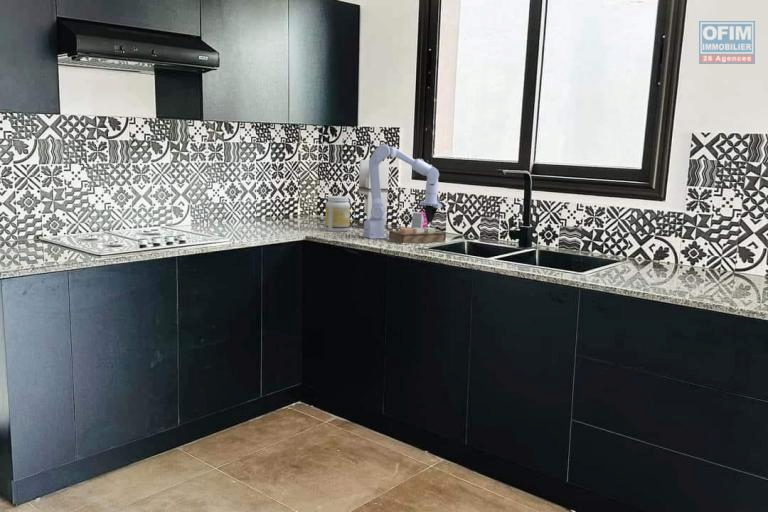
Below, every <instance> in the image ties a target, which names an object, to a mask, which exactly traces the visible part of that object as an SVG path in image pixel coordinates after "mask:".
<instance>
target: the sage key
mask: <svg viewBox="0 0 768 512" xmlns="http://www.w3.org/2000/svg"><path fill="white" fill-rule="evenodd" d="M423 229H424V232H427V233H431V232H435V231H437V228H433V227H430V226H429V227H428V226H427V227H426V228H423Z"/></svg>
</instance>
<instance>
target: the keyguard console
mask: <svg viewBox="0 0 768 512" xmlns="http://www.w3.org/2000/svg"><path fill="white" fill-rule="evenodd" d="M446 236H447V234H446V232H442V231H438V230H436V231H435V232H431V233H427V232H424V233H414V232H413V233H401V232H400V230H389V233H388V241H392V242H394V241H395V242H394V243H397V242H399V243H398V244H401V243H417V244H430V243H429V242H439V243H445V242H446ZM444 241H445V242H444ZM427 242H428V243H427Z"/></svg>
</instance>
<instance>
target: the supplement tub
mask: <svg viewBox="0 0 768 512" xmlns="http://www.w3.org/2000/svg"><path fill="white" fill-rule="evenodd" d="M349 201H350V199H349V196H343V195H329V196H327V201H326V203H325V218H324V220H325V222H324V226H325V227H324V228H325V230H326V231H328V232H333V233H334V232H335V233H341V232H342V233H345V232H348V231H349V230H350V221H351V220H350V219H351V216H350V215H351V203H350V202H349Z"/></svg>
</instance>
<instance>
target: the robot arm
mask: <svg viewBox="0 0 768 512" xmlns="http://www.w3.org/2000/svg"><path fill="white" fill-rule="evenodd" d="M389 156H390V158H397V159H399V160H401V161H403V162H404V163H407V164H409V165H410V166H411V168H412V170H413V171H415V172H417V173H419V174H420V175H422V176H424V177H425V176H426V183H425V194H424V196H425V197H424V200H420V202H419V203H420V206H423V210H424V213H426V218H427V223H432V222H433V220H434V218H435V214H436V212H437V211H438V210H439V209H442V203H439V202H438V195H439V194H438V192H439V189H438V188H439V177H440V172H439V170H438V169H437V168H436V167H434V166H433V165H432V164H429V163H427V162H426V161H424V159H423V158H416V159H414V158H413V157H411V156H410V155H408V154H407V153H404V152H403V151H401V150H400V149H399V148H397V147H393V146H389V144H386V143H383V144H380V145H378V146H377V147H376V148H375V149H374V151H373V153H372V154H371V157H370V158H369V159H368V160H369V171H370V183H371V194H372V209H371V217H370V219H367V220H366V219H365V220H364V222H363V223H364V229H363V234H362V237H364V238H367V239H371V240H372V239H373V240H374V239H375V240H376V239H389V236H385V229H384V228H385V218H384V217H383V215H384V213H385V209H384V207H383V205H382V198H381V187H380V175H379V164H380V163H381V162H382V161H384V160H385V159H387V158H388V157H389Z"/></svg>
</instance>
